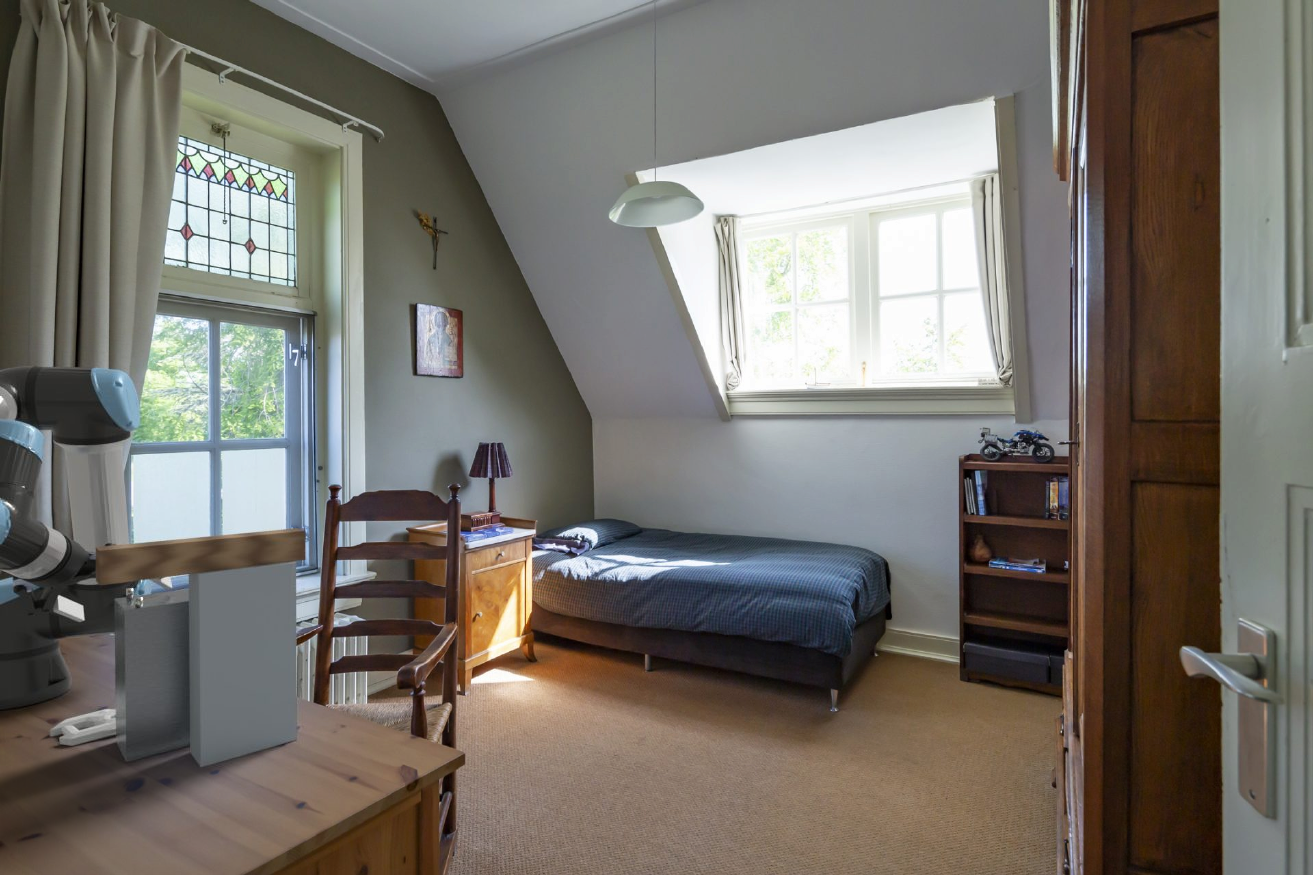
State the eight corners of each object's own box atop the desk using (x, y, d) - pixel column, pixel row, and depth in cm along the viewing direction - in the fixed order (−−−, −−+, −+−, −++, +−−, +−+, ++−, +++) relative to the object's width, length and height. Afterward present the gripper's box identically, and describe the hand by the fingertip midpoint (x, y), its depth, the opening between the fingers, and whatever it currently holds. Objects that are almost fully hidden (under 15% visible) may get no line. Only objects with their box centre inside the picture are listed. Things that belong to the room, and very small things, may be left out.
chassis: (116, 741, 120) (114, 589, 119) (224, 714, 131) (223, 575, 130) (126, 762, 113) (124, 600, 112) (240, 731, 124) (239, 584, 123)
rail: (99, 585, 103) (99, 550, 103) (95, 580, 106) (95, 547, 106) (305, 559, 123) (305, 530, 123) (297, 556, 126) (297, 528, 125)
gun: (174, 686, 135) (184, 703, 128) (175, 704, 136) (185, 721, 128) (48, 718, 123) (51, 738, 116) (50, 737, 123) (52, 759, 116)
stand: (190, 752, 116) (188, 567, 115) (283, 726, 126) (282, 556, 125) (200, 767, 111) (199, 574, 110) (297, 739, 121) (296, 562, 120)
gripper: (-60, 613, 99) (44, 648, 117) (137, 545, 105) (207, 588, 124) (-60, 565, 102) (41, 607, 121) (131, 502, 108) (200, 550, 127)
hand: (125, 597), depth 122 cm, fingers open, 13 cm apart
